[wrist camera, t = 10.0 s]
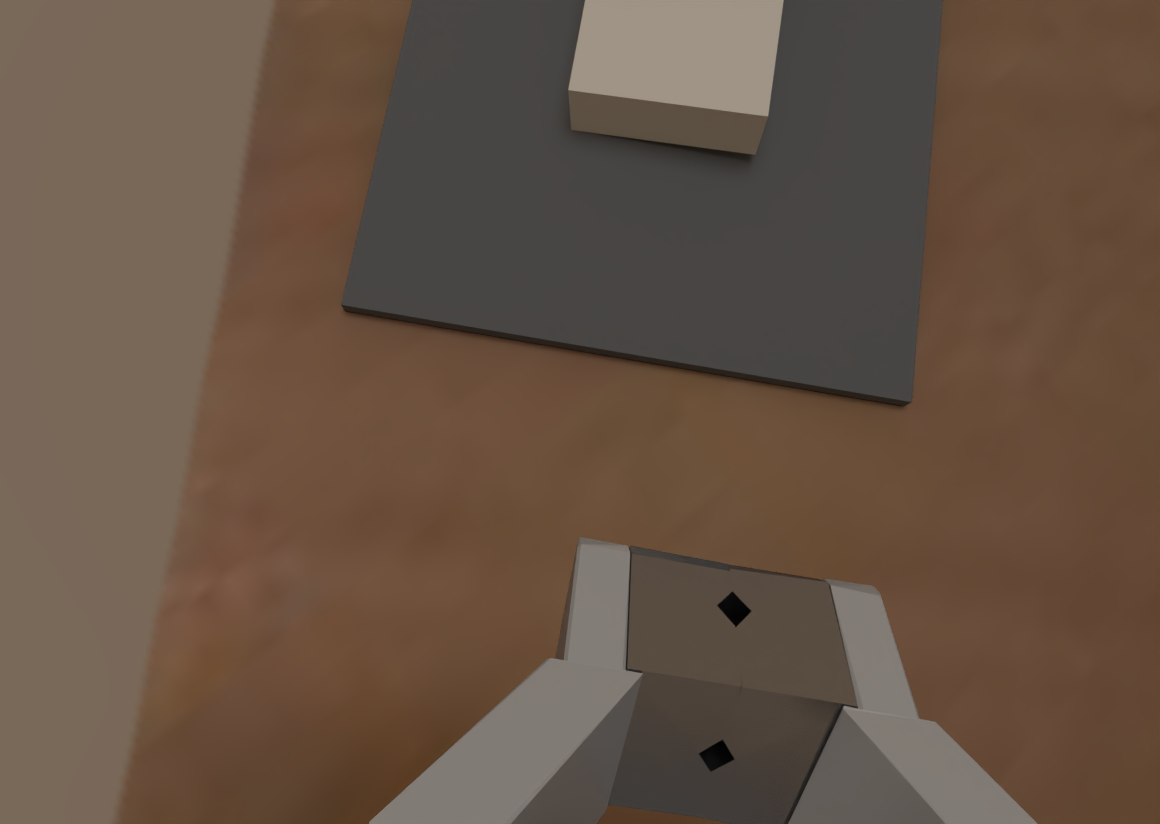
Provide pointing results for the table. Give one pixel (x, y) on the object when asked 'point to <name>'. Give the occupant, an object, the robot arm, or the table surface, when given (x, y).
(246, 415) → the table surface
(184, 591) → the table surface
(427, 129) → the mat
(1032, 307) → the table surface
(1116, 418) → the table surface
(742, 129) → the card box
